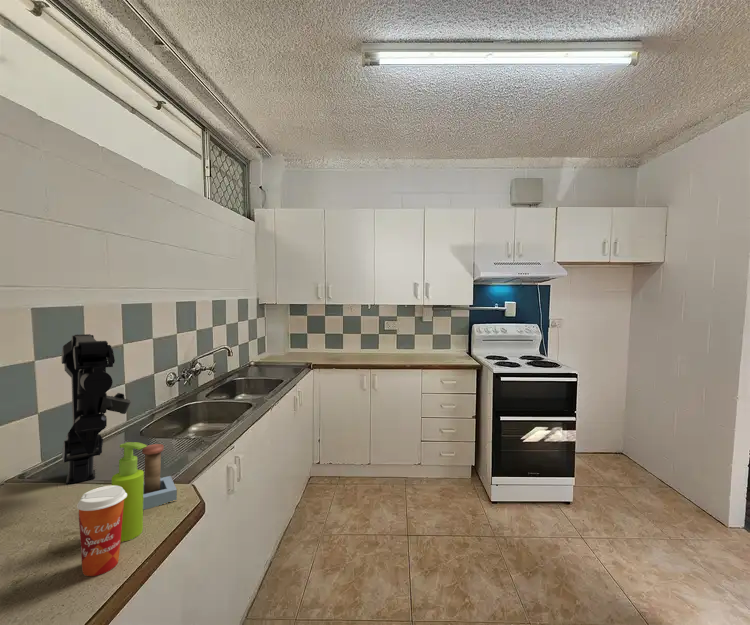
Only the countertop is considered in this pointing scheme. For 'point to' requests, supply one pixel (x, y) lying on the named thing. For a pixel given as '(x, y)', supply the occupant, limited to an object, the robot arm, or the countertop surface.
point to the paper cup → (101, 528)
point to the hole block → (160, 494)
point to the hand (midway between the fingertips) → (90, 448)
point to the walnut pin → (152, 467)
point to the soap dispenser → (131, 491)
